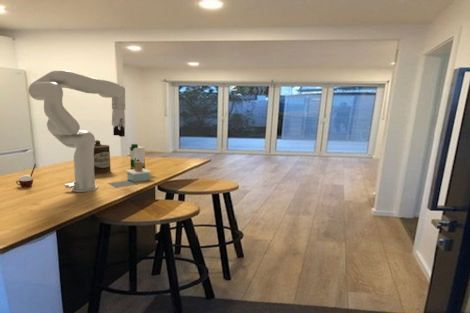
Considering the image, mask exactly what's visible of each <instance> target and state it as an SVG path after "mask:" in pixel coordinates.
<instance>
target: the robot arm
mask: <svg viewBox="0 0 470 313" xmlns="http://www.w3.org/2000/svg"><path fill="white" fill-rule="evenodd" d="M63 89H70V90H74V91H77V92H82V93H85V94H91V95H93V94H95V95H99V97H101V98H105V99H108V98H109V99H110V98H111V110H112V112H111V115H112V116H111V125H112V127H113V133H112V134H113V136H118V137H121V138H123V137H124V138H125V137H126V136H125V135H126V134H125V133H126V132H125V129H126V128H125V127H126V114H125V110H126V88H125V86H123V85H120V84H118V83H116V82H112V81H111V80H106V79H100V78H96V77H92V76H91V77H90V76H88V75H84V74H80V73H78V72H75V71H71V70H68V69H60V70H59V69H58V70H52V71H50V72H48V73H46V74H44V75H43V76H41V77H40V78H38V79H36V80H35V81H33V82H32V83H30V85H29V86H28V94H29V96H30V97H31V98H32V99H34V100H36V101H43V111H44V114H45V116H46V117H47V118H48V120H47V122H46V127H47V130H48V131H49V132H50V133H49V134H51V135H52V136H53V137H54V138H56V140H58V141H59V142H60V143H61V144H62V145H63V146H65V147H68V148H72V149H75V150H74V153H73V154H74V155H73V166H74V167H73V170H74V180H73V182H71V183H65V184H64V188H65V189H68V188H69V189H71V191H72V192H76V193H86V192H87V193H88V192H93V191H96V190H98V189H99V185H98V184H96V180H95V179H96V178H95V177H96V176H95V175H96V174H95V173H94V145H95V141H96V138H95V135H94V134H93V133H92V132H91V131H87V130H84V129H83V130H81V128H80V127H81V126H80V124H79V122H78V121H77V119H75V118H74V116H73V115H71V113H70V112H69V111H68V110H67V109H66V107H65V106H64V104H63V96H64V90H63Z"/></svg>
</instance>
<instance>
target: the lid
mask: <svg viewBox="0 0 470 313" xmlns="http://www.w3.org/2000/svg"><path fill="white" fill-rule="evenodd" d="M124 172H125V173H126V174H127V173H130V174H132V175H136V174H144V173H150V174H151V173H153V172H152V170H149V169H147V168H145V169H144V168H142V162H140V161H137V162H134V169H131V168H130V169H125V170H124Z"/></svg>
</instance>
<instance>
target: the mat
mask: <svg viewBox="0 0 470 313" xmlns="http://www.w3.org/2000/svg"><path fill="white" fill-rule="evenodd" d="M107 184H108V185H110V186H112V187H114V188H115V189H117V188H124V187H131V186H137V185H139V184H138V183H137V182H133V181H131V180H129V179H127V180H122V181H114V182H108V183H107Z"/></svg>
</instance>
